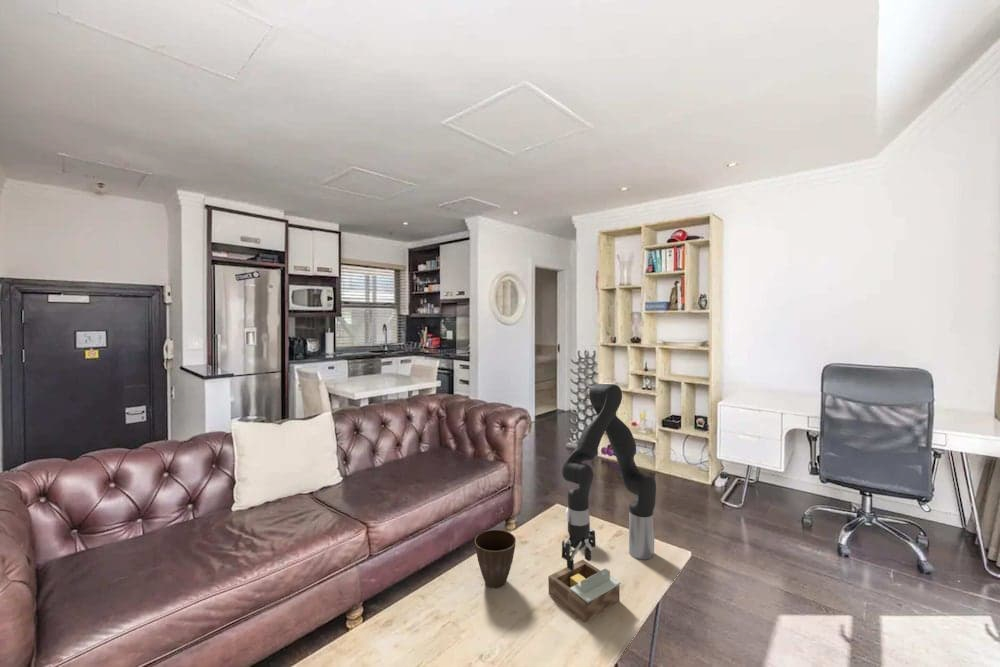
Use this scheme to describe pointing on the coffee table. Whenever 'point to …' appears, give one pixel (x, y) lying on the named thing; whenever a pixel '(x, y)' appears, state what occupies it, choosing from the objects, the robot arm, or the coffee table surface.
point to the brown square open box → (572, 601)
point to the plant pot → (495, 556)
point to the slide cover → (595, 585)
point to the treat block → (576, 579)
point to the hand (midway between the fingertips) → (579, 564)
